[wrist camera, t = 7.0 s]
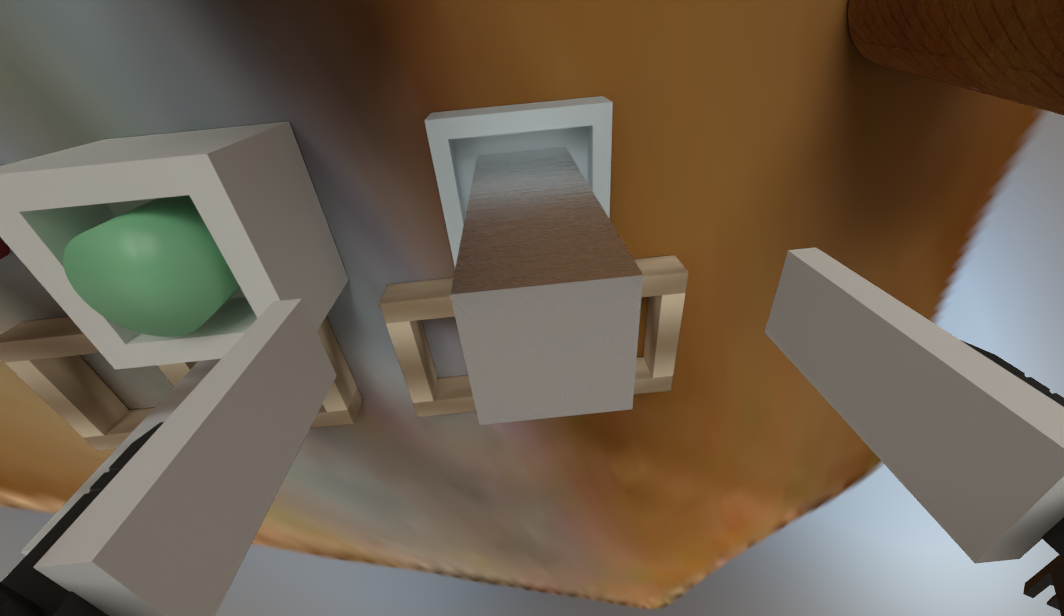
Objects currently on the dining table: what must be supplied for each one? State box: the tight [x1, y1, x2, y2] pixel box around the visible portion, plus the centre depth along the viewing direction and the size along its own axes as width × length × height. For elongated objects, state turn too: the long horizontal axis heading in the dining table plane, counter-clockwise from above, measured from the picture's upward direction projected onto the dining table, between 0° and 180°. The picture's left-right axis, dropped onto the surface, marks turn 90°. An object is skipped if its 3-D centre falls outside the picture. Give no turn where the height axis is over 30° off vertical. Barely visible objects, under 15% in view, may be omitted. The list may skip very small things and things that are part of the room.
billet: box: [450, 147, 643, 425], centre depth 15 cm, size 4×4×12 cm
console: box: [0, 122, 349, 370], centre depth 18 cm, size 8×8×6 cm
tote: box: [424, 96, 613, 267], centre depth 19 cm, size 8×8×2 cm
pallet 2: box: [379, 255, 689, 417], centre depth 24 cm, size 8×16×2 cm, turn 95°
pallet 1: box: [0, 317, 363, 555], centre depth 20 cm, size 8×16×12 cm, turn 95°
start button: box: [63, 195, 240, 337], centre depth 16 cm, size 4×4×4 cm
